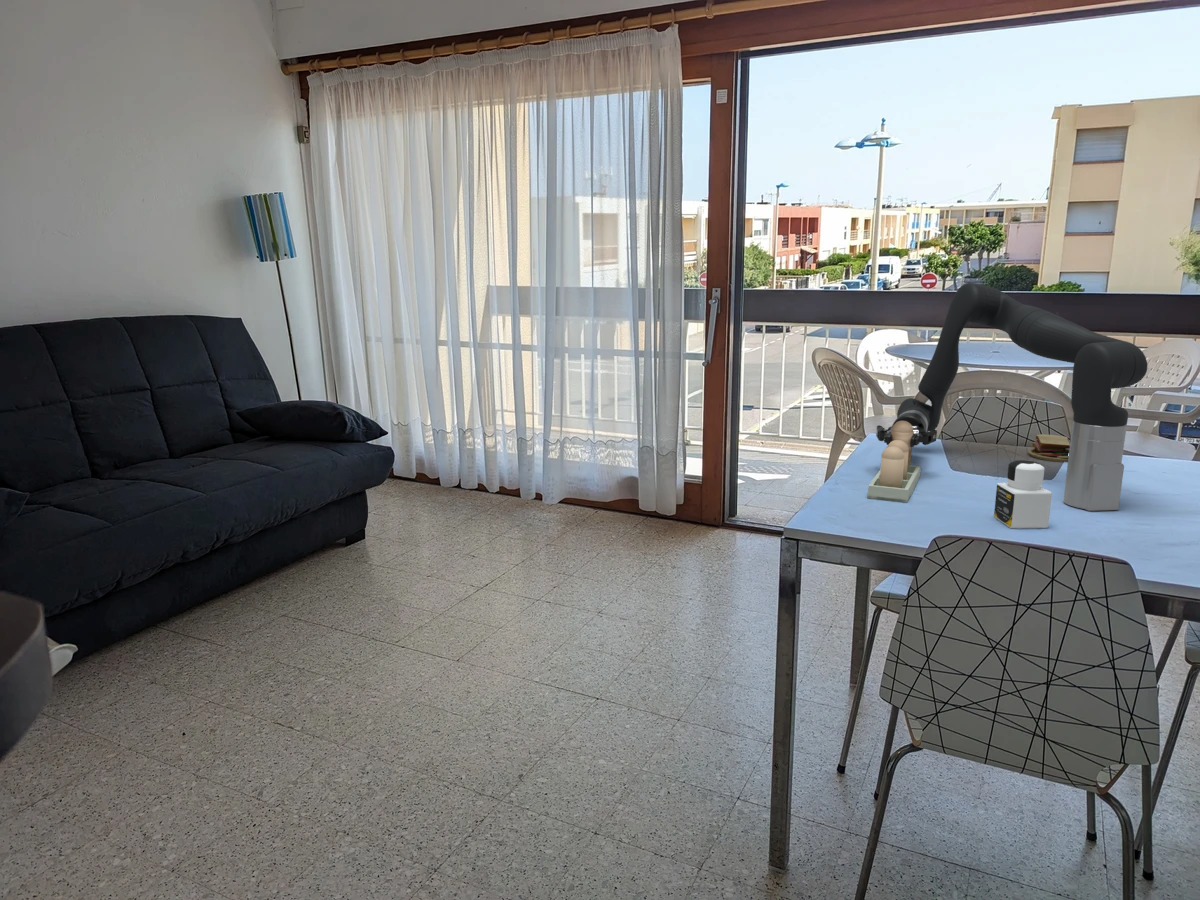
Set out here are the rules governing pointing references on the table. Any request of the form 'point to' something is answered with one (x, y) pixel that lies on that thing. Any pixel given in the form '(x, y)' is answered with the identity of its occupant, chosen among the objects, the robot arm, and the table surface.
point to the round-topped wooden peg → (903, 435)
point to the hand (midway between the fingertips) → (900, 441)
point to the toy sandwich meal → (1050, 447)
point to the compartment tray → (894, 475)
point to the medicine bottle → (1023, 497)
